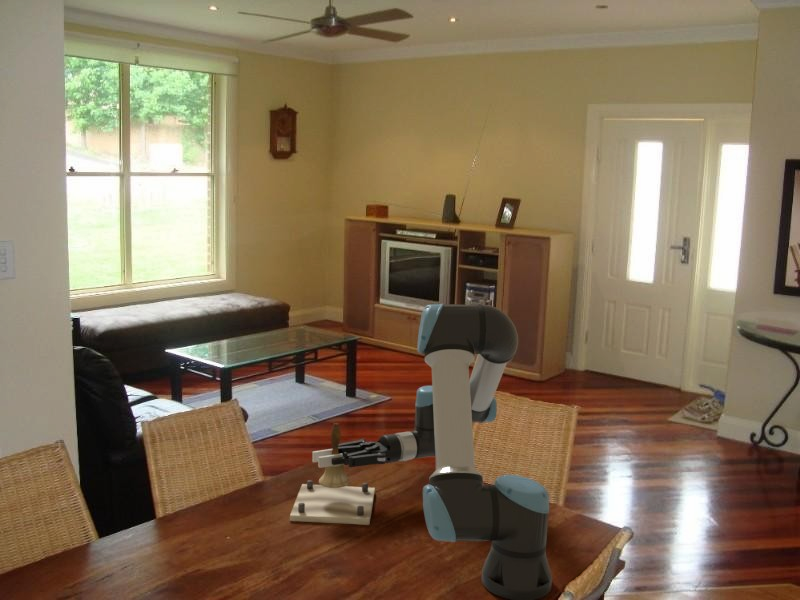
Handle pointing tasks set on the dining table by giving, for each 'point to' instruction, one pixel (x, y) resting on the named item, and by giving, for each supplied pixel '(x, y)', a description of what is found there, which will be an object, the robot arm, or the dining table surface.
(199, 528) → the dining table surface
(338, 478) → the hand bell
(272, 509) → the dining table surface
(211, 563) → the dining table surface
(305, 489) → the board
